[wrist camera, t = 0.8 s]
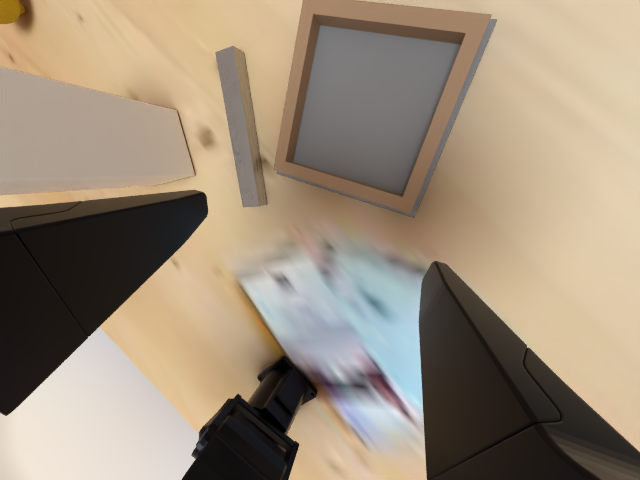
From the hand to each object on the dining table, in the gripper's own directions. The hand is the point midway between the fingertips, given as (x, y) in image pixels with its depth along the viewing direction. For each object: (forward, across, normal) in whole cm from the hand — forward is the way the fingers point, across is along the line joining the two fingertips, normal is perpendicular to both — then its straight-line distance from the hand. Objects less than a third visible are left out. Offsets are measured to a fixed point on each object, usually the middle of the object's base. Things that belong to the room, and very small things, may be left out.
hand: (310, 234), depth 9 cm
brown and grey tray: (+15, 0, -3) cm, 16 cm away
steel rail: (+16, +12, +1) cm, 20 cm away
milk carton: (+16, +23, +6) cm, 29 cm away
